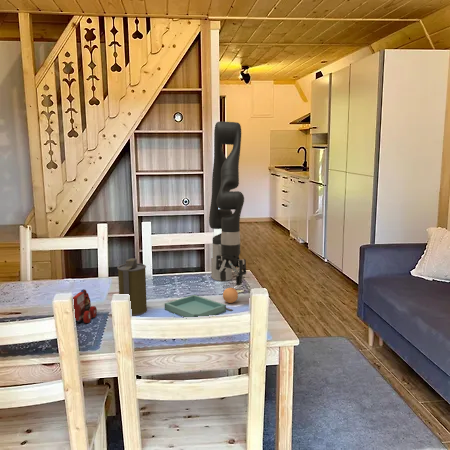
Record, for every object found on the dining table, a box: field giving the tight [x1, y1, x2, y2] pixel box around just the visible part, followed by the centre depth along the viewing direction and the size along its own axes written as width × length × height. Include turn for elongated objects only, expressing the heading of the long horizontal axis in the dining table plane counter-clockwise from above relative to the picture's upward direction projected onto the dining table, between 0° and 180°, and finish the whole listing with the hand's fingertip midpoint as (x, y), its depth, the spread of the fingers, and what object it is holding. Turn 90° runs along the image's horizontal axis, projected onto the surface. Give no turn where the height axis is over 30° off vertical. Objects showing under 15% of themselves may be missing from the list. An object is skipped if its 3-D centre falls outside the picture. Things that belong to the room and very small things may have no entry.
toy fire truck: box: [72, 289, 98, 324], centre depth 157 cm, size 7×12×10 cm, turn 175°
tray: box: [164, 294, 227, 318], centre depth 166 cm, size 18×15×2 cm
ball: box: [222, 287, 239, 304], centre depth 175 cm, size 6×6×6 cm
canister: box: [116, 257, 148, 317], centre depth 164 cm, size 11×10×20 cm
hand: (230, 282), depth 174 cm, fingers open, 8 cm apart
